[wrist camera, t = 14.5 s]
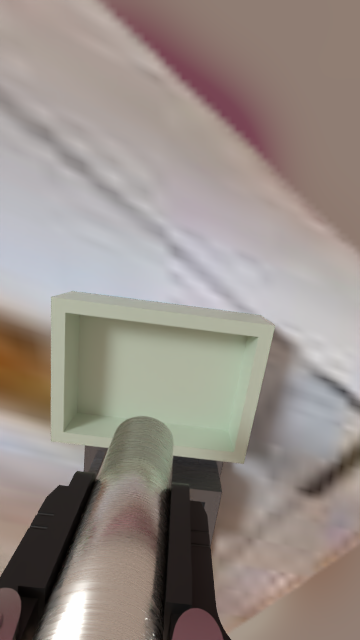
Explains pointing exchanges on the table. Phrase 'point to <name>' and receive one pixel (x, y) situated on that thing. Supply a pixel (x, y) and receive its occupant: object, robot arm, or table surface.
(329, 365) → the table surface
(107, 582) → the pin
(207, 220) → the table surface
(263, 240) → the table surface
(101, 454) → the hitch
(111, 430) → the tray
